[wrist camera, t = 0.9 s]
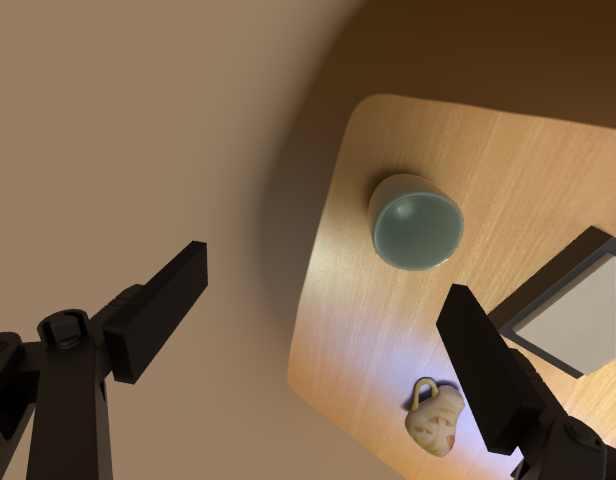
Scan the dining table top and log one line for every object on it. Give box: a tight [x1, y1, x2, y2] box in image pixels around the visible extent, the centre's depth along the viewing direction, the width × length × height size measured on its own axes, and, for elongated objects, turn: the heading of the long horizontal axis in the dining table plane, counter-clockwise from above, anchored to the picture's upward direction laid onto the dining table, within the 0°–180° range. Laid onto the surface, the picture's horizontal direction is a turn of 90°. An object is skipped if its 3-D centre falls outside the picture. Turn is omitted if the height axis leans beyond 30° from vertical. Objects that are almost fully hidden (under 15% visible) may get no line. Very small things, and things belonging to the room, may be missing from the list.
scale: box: [487, 226, 616, 379], centre depth 36 cm, size 16×14×4 cm
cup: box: [368, 174, 464, 271], centre depth 30 cm, size 8×8×10 cm
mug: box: [405, 378, 465, 457], centre depth 45 cm, size 8×10×10 cm
